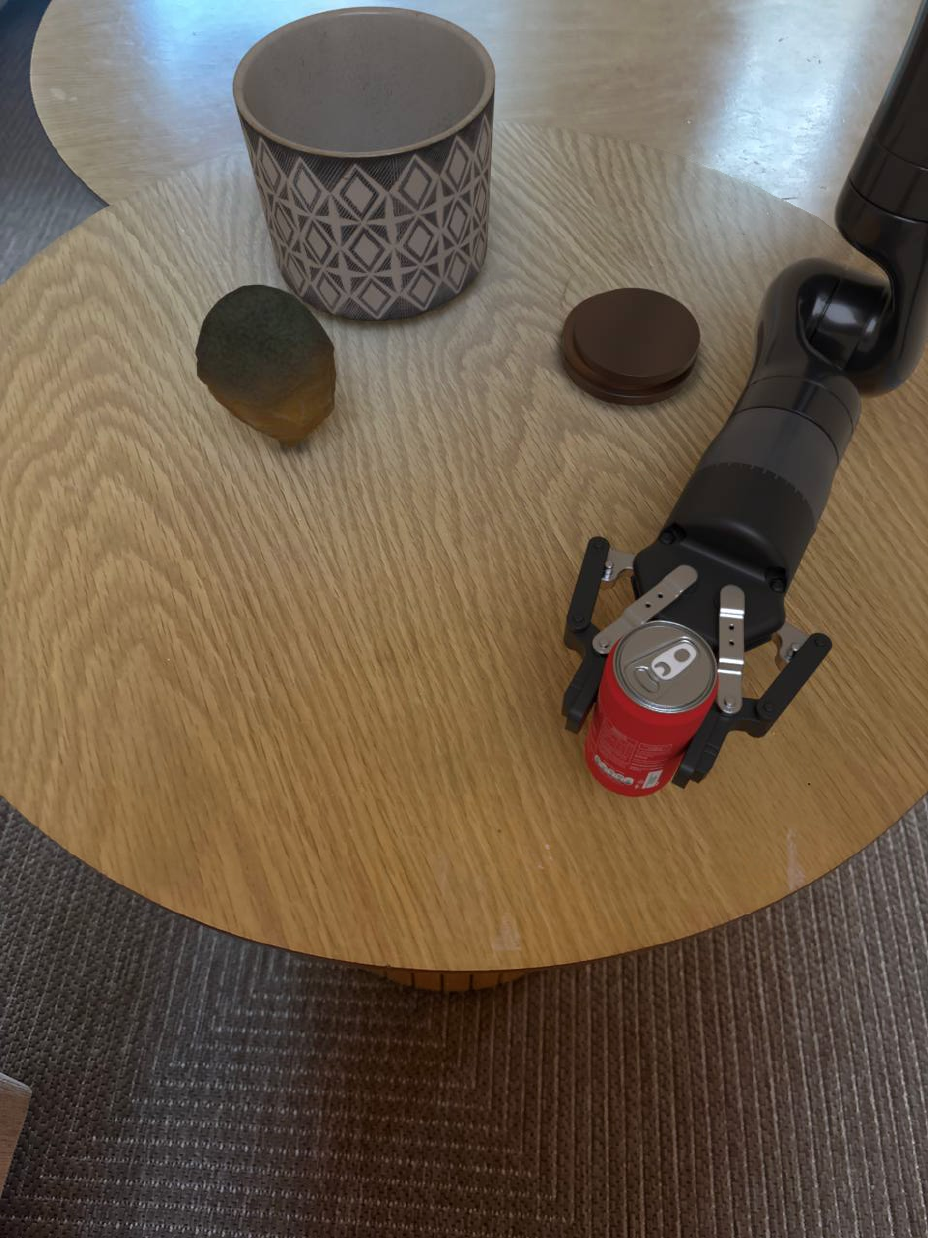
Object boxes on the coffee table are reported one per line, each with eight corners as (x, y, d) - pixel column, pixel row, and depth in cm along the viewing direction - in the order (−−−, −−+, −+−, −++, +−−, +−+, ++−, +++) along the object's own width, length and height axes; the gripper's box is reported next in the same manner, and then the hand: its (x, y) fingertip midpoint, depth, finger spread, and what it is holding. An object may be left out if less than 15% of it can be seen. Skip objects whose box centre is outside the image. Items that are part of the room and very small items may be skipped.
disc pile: (702, 321, 75) (710, 293, 73) (685, 417, 70) (694, 389, 67) (574, 300, 77) (577, 271, 74) (548, 391, 71) (551, 364, 69)
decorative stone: (350, 412, 70) (322, 252, 57) (351, 473, 68) (322, 318, 54) (228, 421, 70) (172, 261, 57) (224, 482, 67) (164, 328, 54)
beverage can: (563, 749, 51) (584, 653, 40) (633, 701, 52) (670, 596, 42) (622, 821, 49) (660, 740, 38) (692, 769, 50) (747, 677, 40)
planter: (489, 342, 74) (492, 157, 60) (261, 338, 75) (210, 153, 60) (493, 196, 84) (497, 6, 69) (291, 193, 84) (253, 4, 70)
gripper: (643, 416, 49) (497, 655, 42) (901, 517, 45) (790, 799, 38) (624, 499, 56) (495, 718, 48) (849, 593, 52) (745, 845, 45)
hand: (626, 752), depth 43 cm, fingers closed on beverage can, 5 cm apart
